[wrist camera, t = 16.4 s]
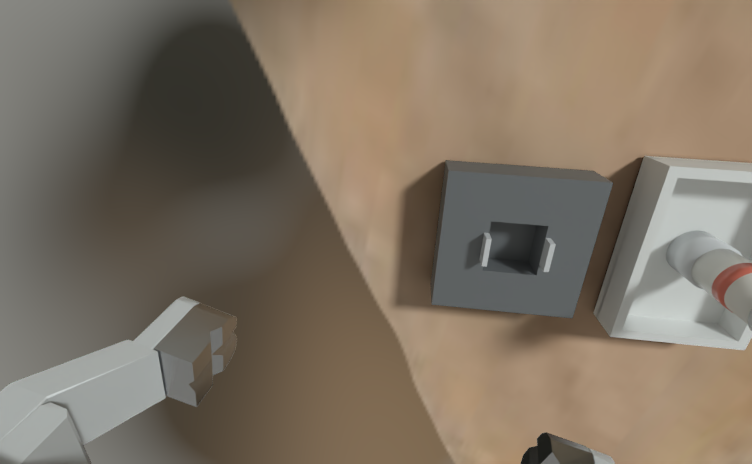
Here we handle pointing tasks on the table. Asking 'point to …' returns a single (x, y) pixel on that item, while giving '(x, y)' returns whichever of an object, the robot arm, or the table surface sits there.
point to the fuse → (714, 270)
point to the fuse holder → (516, 237)
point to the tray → (649, 246)
